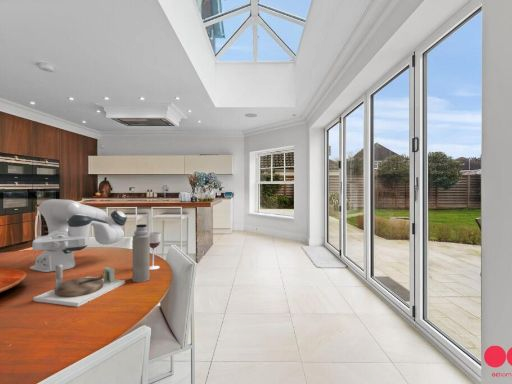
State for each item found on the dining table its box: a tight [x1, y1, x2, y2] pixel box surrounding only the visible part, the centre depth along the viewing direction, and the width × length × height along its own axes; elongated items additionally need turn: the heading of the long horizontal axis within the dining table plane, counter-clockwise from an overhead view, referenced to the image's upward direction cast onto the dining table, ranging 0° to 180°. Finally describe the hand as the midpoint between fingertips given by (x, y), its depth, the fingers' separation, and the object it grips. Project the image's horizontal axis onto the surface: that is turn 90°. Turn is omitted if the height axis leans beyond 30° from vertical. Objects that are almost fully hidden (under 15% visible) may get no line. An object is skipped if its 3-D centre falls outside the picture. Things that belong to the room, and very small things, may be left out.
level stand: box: [33, 266, 126, 308], centre depth 123 cm, size 22×27×8 cm
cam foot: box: [54, 265, 106, 297], centre depth 122 cm, size 20×18×12 cm
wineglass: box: [148, 231, 162, 271], centre depth 161 cm, size 8×9×20 cm
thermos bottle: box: [131, 224, 151, 283], centre depth 140 cm, size 8×8×28 cm
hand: (62, 245), depth 122 cm, fingers closed
